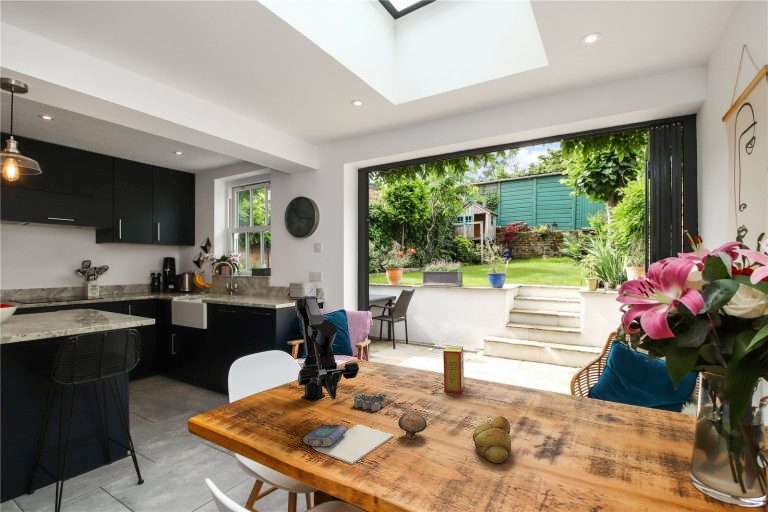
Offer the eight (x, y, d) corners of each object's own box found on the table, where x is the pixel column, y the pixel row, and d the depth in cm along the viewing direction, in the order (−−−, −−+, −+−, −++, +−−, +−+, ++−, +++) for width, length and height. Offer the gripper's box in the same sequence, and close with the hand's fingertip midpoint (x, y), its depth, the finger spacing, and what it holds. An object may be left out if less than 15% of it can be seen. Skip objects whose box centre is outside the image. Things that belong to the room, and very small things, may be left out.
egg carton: (388, 406, 131) (387, 394, 131) (375, 413, 125) (375, 401, 125) (363, 400, 137) (363, 389, 137) (350, 407, 131) (350, 395, 131)
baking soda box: (461, 393, 141) (460, 350, 142) (444, 392, 143) (443, 349, 144) (464, 385, 150) (463, 345, 151) (447, 384, 152) (446, 344, 153)
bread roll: (513, 469, 89) (512, 435, 89) (471, 464, 92) (471, 431, 92) (510, 444, 101) (509, 414, 102) (473, 440, 104) (472, 411, 104)
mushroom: (407, 445, 101) (407, 422, 101) (393, 434, 108) (393, 412, 109) (432, 439, 105) (431, 416, 105) (416, 428, 112) (416, 407, 112)
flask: (347, 424, 107) (328, 440, 97) (348, 435, 107) (329, 451, 97) (319, 423, 111) (298, 438, 101) (320, 433, 111) (299, 449, 101)
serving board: (315, 450, 100) (315, 448, 100) (358, 425, 115) (358, 424, 115) (351, 464, 92) (351, 462, 92) (393, 436, 107) (393, 434, 107)
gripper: (346, 363, 132) (357, 406, 122) (293, 370, 125) (299, 416, 115) (353, 345, 125) (365, 389, 115) (297, 352, 118) (304, 399, 107)
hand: (334, 399), depth 113 cm, fingers closed
